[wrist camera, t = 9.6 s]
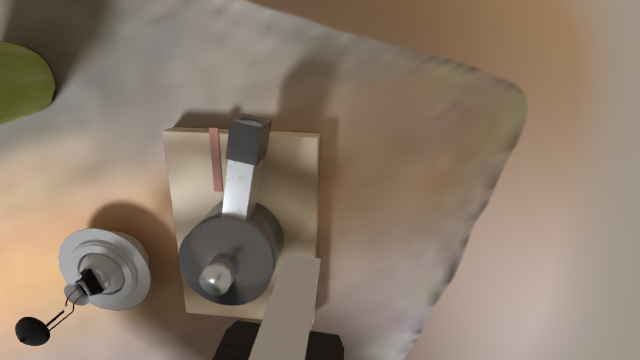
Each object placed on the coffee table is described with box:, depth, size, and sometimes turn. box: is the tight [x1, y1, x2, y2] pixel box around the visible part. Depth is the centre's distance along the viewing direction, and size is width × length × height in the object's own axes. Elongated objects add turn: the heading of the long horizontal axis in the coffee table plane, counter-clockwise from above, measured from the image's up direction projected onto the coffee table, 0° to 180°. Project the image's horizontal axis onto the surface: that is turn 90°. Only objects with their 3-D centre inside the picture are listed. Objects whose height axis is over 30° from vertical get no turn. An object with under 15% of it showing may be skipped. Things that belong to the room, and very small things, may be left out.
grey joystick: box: [15, 228, 151, 346], centre depth 33 cm, size 12×10×10 cm
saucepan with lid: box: [178, 114, 284, 306], centre depth 28 cm, size 16×8×7 cm, turn 168°
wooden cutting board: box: [162, 127, 320, 324], centre depth 34 cm, size 20×14×2 cm
